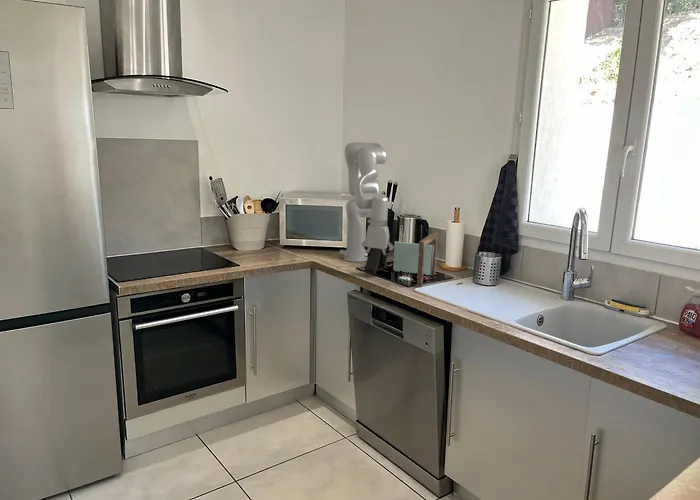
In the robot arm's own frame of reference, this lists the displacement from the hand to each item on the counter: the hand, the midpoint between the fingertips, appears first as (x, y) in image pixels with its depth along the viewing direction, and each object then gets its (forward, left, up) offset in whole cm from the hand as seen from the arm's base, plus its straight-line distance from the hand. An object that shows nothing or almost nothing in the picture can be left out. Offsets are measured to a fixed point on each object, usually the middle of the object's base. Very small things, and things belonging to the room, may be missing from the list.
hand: (376, 261), depth 244 cm
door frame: (+23, +5, -7) cm, 24 cm away
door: (+14, +13, -7) cm, 20 cm away
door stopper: (0, 0, -3) cm, 3 cm away
